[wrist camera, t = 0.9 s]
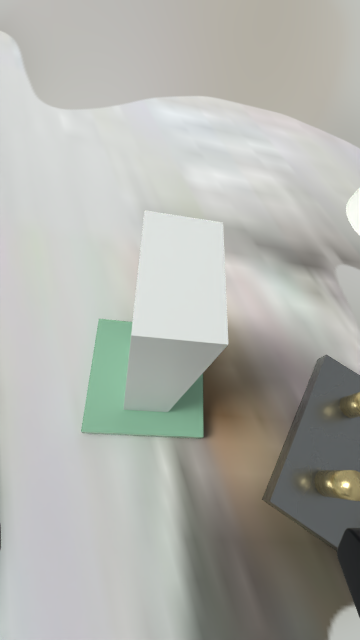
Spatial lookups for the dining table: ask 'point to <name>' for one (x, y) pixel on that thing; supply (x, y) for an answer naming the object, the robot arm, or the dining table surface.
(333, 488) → the plate
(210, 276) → the column on green base
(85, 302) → the dining table surface
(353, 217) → the cylinder with rectangular tab
